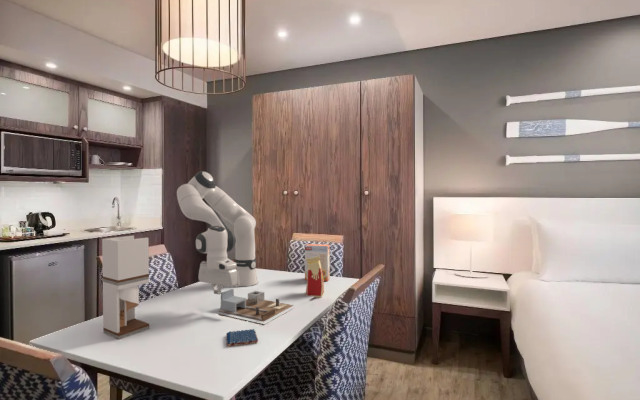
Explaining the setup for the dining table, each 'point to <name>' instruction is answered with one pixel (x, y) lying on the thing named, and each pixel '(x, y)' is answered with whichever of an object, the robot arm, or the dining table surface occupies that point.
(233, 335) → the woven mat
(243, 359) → the dining table surface
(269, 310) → the base
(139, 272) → the coffee grinder
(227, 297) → the cover
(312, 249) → the cracker box
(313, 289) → the milk carton
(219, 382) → the dining table surface
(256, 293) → the block
